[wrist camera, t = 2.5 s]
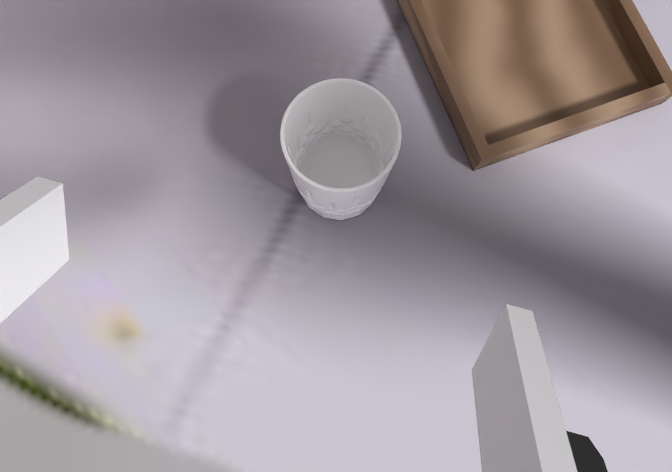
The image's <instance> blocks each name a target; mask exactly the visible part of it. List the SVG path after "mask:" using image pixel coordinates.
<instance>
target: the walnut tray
mask: <svg viewBox="0 0 672 472" xmlns="http://www.w3.org/2000/svg"><path fill="white" fill-rule="evenodd" d="M397 1H398V4H399V6H400V8H401V10H402V13H403V15H404V17H405V19H406V21H407V24H408V26H409V28H410V30H411V33H412V35H413V37H414V39H415V42H416V44H417V46H418V48H419V50H420V53H421V55H422V57H423V59H424V62H425V64H426V66H427V68H428V71H429V73H430V75H431V77H432V80H433V82H434V84H435V86H436V88H437V91H438V93H439V95H440V97H441V100H442V102H443V104H444V106H445V109H446V111H447V113H448V115H449V117H450V120H451V122H452V124H453V126H454V129H455V131H456V133H457V135H458V138H459V140H460V142H461V144H462V147H463V149H464V151H465V153H466V155H467V158H468V160H469V162H470V164H471V167H472V169H473V171H474V170H477V169H480V168H482V167H485V166H488V165H491V164H494V163H496V162H499V161H502V160H505V159H508V158H510V157H513V156H516V155H519V154H522V153H524V152H527V151H530V150H533V149H536V148H538V147H541V146H544V145H547V144H550V143H552V142H555V141H558V140H561V139H564V138H566V137H569V136H572V135H575V134H578V133H580V132H583V131H586V130H589V129H591V128H594V127H597V126H600V125H603V124H605V123H608V122H611V121H614V120H617V119H619V118H622V117H625V116H628V115H631V114H633V113H636V112H639V111H642V110H645V109H647V108H650V107H653V106H656V105H659V104H661V103H663V102H665V101H666V100H667V99H669V98H670V97H671V96H672V71H671V69H670V68H669V66H668V64H667V62H666V60H665V59H664V57H663V55H662V53H661V51H660V50H659V48H658V46H657V44H656V42H655V41H654V39H653V37H652V35H651V33H650V32H649V30H648V28H647V26H646V24H645V23H644V21H643V19H642V17H641V15H640V14H639V12H638V10H637V8H636V6H635V5H634V3H633V1H632V0H397Z"/></svg>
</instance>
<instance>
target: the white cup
mask: <svg viewBox="0 0 672 472" xmlns="http://www.w3.org/2000/svg"><path fill="white" fill-rule="evenodd" d="M280 141H281V147H282V151H283V154H284V156H285V159H286V161H287V164H288V167H289V169H290V172H291V175H292V178H293V180H294V182H295V184H296V186H297V189H298V191H299V192H300V194H301V195H302V197H303V199H304V200H305V202H306V204H307V206H308V207H309V208H310V209H312V210H313V211H315V212H316V213H318V214H319V215H321V216H322V217H324V218H329V219H336V220H345V219H348V218H352V217H355V216H358V215H360V214H361V213H362V212H363V211H365V210H366V209H367V208H368V207H369V206H370V205H371V204H372V203H373V202H374V199H375V197H376V196H377V195H378V193H379V192H380V190H381V188H382V187H383V185H384V183H385V181H386V180H387V178H388V175H389V173H390V171H391V169H392V167H393V165H394V163H395V161H396V159H397V156H398V154H399V151H400V147H401V141H402V130H401V124H400V120H399V117H398V115H397V112H396V110H395V108H394V107H393V105H392V104H391V102H390V101H389V100H388V99H387V98H386V97H385V96H384V95H383V94H382V93H381V92H380V91H378V90H377V89H376V88H374V87H372V86H370V85H368V84H366V83H364V82H361V81H358V80H354V79H347V78H334V79H328V80H323V81H320V82H317V83H315V84H313V85H311V86H309V87H307V88H306V89H304V90H303V91H302V92H300V93H299V94H298V95H297V96H296V97H295V98H294V99H293V100H292V102H291V103H290V104H289V106H288V108H287V109H286V111H285V114H284V116H283V119H282V123H281V128H280Z"/></svg>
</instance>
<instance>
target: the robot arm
mask: <svg viewBox="0 0 672 472" xmlns="http://www.w3.org/2000/svg"><path fill="white" fill-rule="evenodd" d="M68 260H69V251H68V239H67V227H66V215H65V203H64V191H63V183H60V182H56V181H53V180H49V179H45V178H42V177H38V176H37V177H35V178H34V179H32V180H31V181H29V182H28V183H26V184H24V185H23V186H21V187H20V188H18V189H17V190H15V191H13V192H12V193H10V194H9V195H7V196H5V197H4V198H2V199H1V200H0V323H1V322H2V321H3V320H4V319H5V318H6V317H7V316H9V315H10V314H11V313H12V312H13V311H14V310H15V309H16V308H17V307H18V306H19V305H20V304H22V303H23V302H24V301H25V300H26V299H27V298H28V297H29V296H30V295H31V294H32V293H33V292H35V291H36V290H37V289H38V288H39V287H40V286H41V285H42V284H43V283H44V282H45V281H47V280H48V279H49V278H50V277H51V276H52V275H53V274H54V273H55V272H56V271H57V270H58V269H60V268H61V267H62V266H63V265H64V264H65V263H66V262H67V261H68ZM472 377H473V387H474V397H475V406H476V416H477V426H478V436H479V445H480V455H481V465H482V472H607V469H606V466H605V463H604V460H603V458H602V456H601V455H600V453H599V452H598V450H597V449H596V448H595V446H594V445H593V443H592V442H591V440H590V439H589V437H586V436H583V435H579V434H575V433H572V432H568V431H566V429H565V425H564V422H563V418H562V414H561V411H560V407H559V404H558V400H557V396H556V393H555V389H554V386H553V382H552V379H551V375H550V371H549V368H548V364H547V361H546V357H545V353H544V350H543V346H542V343H541V339H540V335H539V332H538V328H537V325H536V321H535V317H534V314H533V311H531V310H527V309H524V308H520V307H516V306H513V305H509V304H506V306H505V308H504V309H503V311H502V313H501V315H500V317H499V319H498V321H497V323H496V325H495V327H494V329H493V330H492V332H491V334H490V336H489V338H488V340H487V342H486V344H485V346H484V348H483V349H482V351H481V353H480V355H479V357H478V359H477V361H476V363H475V365H474V367H473V369H472Z"/></svg>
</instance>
